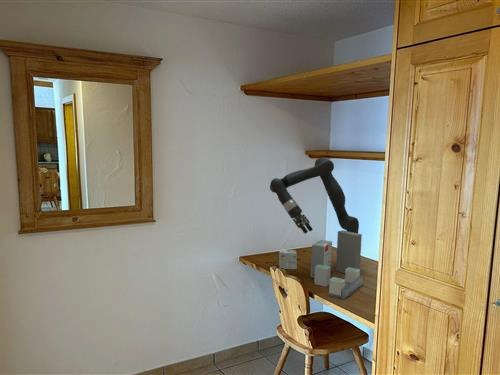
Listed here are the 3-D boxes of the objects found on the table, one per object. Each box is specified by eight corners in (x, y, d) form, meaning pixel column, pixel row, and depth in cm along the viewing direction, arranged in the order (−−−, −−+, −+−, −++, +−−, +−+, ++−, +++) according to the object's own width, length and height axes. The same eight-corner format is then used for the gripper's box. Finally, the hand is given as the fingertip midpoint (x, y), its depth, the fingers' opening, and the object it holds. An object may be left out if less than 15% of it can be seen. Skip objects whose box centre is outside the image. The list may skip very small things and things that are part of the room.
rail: (347, 281, 225) (347, 273, 225) (362, 284, 220) (362, 277, 219) (327, 295, 204) (328, 286, 204) (344, 299, 199) (344, 290, 198)
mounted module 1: (333, 289, 208) (333, 276, 207) (344, 292, 204) (345, 279, 203) (329, 292, 204) (329, 279, 203) (340, 295, 200) (341, 281, 199)
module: (318, 281, 224) (319, 264, 223) (329, 284, 220) (330, 266, 219) (314, 283, 220) (315, 266, 219) (325, 286, 216) (326, 268, 215)
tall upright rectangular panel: (360, 274, 237) (362, 234, 234) (354, 276, 233) (356, 235, 230) (341, 268, 248) (343, 230, 245) (335, 270, 244) (337, 231, 241)
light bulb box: (295, 266, 252) (295, 249, 250) (296, 269, 245) (297, 252, 244) (278, 266, 251) (279, 249, 250) (279, 269, 245) (280, 252, 243)
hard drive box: (322, 280, 226) (324, 246, 224) (310, 278, 230) (311, 244, 228) (331, 272, 240) (332, 240, 237) (319, 270, 243) (320, 239, 241)
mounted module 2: (348, 279, 225) (348, 266, 224) (359, 281, 221) (359, 269, 220) (344, 281, 221) (345, 269, 220) (355, 284, 217) (356, 271, 216)
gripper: (292, 205, 218) (310, 229, 214) (301, 203, 230) (317, 226, 227) (283, 213, 221) (299, 237, 217) (292, 210, 233) (308, 233, 229)
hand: (309, 231), depth 222 cm, fingers open, 8 cm apart
